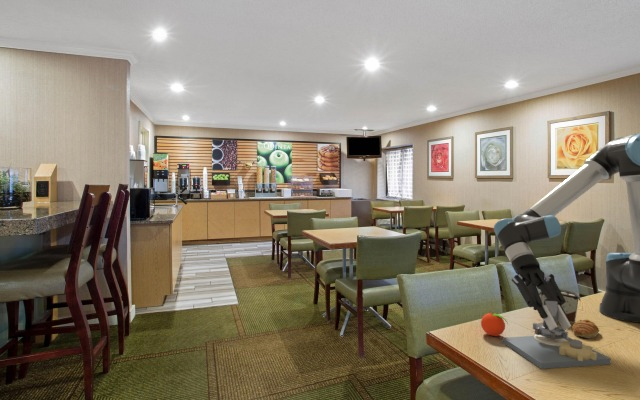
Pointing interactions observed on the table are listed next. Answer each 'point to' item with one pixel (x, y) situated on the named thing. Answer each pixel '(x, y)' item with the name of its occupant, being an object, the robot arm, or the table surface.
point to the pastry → (585, 329)
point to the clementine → (493, 324)
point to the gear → (542, 327)
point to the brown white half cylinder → (567, 303)
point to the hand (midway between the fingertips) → (560, 328)
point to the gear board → (555, 351)
